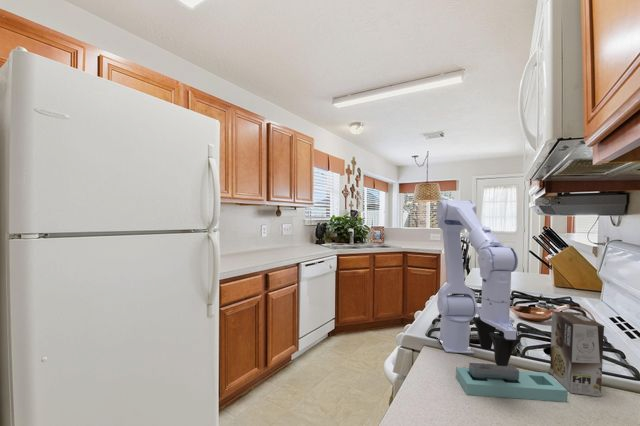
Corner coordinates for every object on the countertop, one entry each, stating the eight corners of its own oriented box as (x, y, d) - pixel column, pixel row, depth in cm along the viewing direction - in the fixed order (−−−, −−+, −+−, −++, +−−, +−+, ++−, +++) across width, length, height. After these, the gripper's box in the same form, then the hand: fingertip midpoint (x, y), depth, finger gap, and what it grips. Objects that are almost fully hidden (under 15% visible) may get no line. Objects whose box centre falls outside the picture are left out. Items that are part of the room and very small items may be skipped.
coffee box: (602, 397, 68) (606, 326, 68) (569, 393, 69) (572, 323, 69) (577, 375, 77) (580, 312, 77) (548, 371, 78) (551, 309, 78)
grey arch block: (468, 383, 73) (469, 362, 73) (512, 386, 72) (513, 365, 72) (472, 389, 70) (473, 368, 70) (518, 392, 69) (519, 370, 69)
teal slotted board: (467, 394, 68) (467, 383, 68) (455, 377, 75) (456, 367, 75) (567, 401, 66) (567, 390, 66) (546, 383, 73) (546, 372, 73)
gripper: (532, 310, 63) (530, 375, 63) (498, 290, 77) (496, 343, 78) (496, 308, 63) (494, 372, 64) (469, 289, 78) (467, 341, 78)
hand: (493, 356), depth 71 cm, fingers open, 7 cm apart
